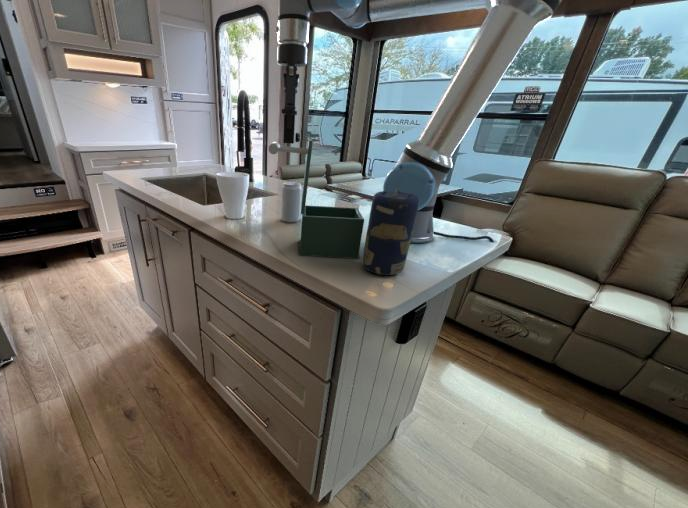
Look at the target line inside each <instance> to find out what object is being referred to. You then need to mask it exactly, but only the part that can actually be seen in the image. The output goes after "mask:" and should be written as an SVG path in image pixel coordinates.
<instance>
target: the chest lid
mask: <svg viewBox="0 0 688 508" xmlns="http://www.w3.org/2000/svg"><path fill="white" fill-rule="evenodd" d="M307 141H308V142H307V148H303V147H295V146H285V145H281V144H280V143H279V142H278V141H273V142H272V143H270V144H269V146H268V152H269V153H270V155H276V154H277V153H278V152H283V153H293V154H301V155H306V159H305V168H304V177H303V185H302V193H301V211H300V215H302V214H304V212H305V205H306V203H307V194H308V188H309V187H308V185H309V178H310V168H311V159H312V153H313V143H314V140H313V138H312V137H309V138H308V140H307Z"/></svg>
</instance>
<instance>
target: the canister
mask: <svg viewBox="0 0 688 508" xmlns="http://www.w3.org/2000/svg"><path fill="white" fill-rule="evenodd" d="M418 207H419V198H418V197H417V196H415V195H413V194H409V193H405V192H400V190H399V189H397V190H396V191H383V190H381V191H377V192H375V193H374V194H373V196H372V201H371V206H370V211H369V218H368V224H367V230H366V235H365V240H364V246H363V252H362V259H361V260H362V261H361V264H362V266H363V268H364V269H366V270H367V271H369V272H370V273H373V274H377V275H381V276H383V275H384V276H393V275H394V276H395V275H398V274H400V273H401V272H403V270H404V268H405V265H406V261H407V257H408V253H409V250H410V245H411V244H412V243H411V237H412V233H413V228H414V224H415V220H416V216H417V211H418Z"/></svg>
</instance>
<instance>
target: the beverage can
mask: <svg viewBox="0 0 688 508" xmlns="http://www.w3.org/2000/svg"><path fill="white" fill-rule="evenodd" d="M282 184H283V185H282V186H281V202H280V203H281V204H280V219H281V220H282V221H283V222H285V223H288V224H290V223H292V224H294V223H297V222H299V221H300V220H301V202H302V193H303V186H301V185H302V183H301V182H297V181H285V182H283V183H282Z"/></svg>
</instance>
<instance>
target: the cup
mask: <svg viewBox="0 0 688 508" xmlns="http://www.w3.org/2000/svg"><path fill="white" fill-rule="evenodd" d="M215 177H216V183H217V187H218V191H219V195H220V197H221V198H220V199H221V201H222V205H223V208H224V209H223V210H224V214H225V218H226V219H230V220H240V219H242V218H244V216H245V206H246V201H247V197H248V193H249V185H250V174H249V173H248V172H247V173H246V172H240V171H223V172H218V173H216V174H215Z"/></svg>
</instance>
